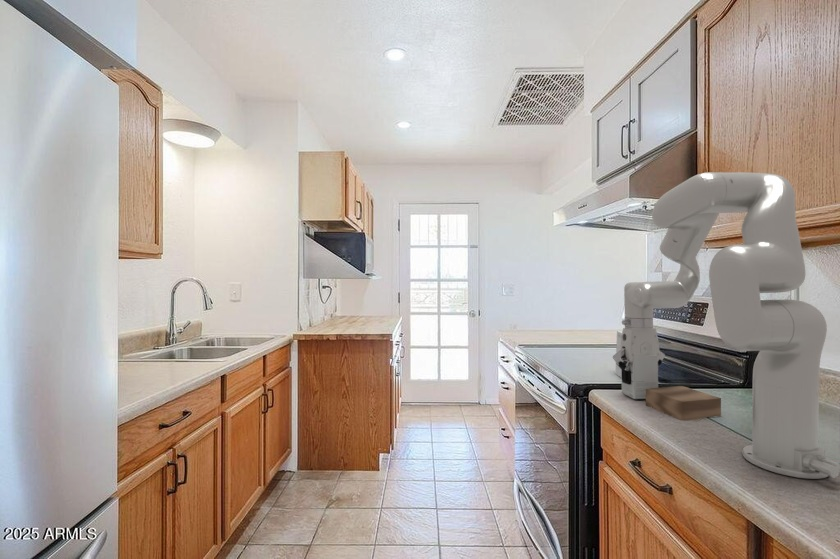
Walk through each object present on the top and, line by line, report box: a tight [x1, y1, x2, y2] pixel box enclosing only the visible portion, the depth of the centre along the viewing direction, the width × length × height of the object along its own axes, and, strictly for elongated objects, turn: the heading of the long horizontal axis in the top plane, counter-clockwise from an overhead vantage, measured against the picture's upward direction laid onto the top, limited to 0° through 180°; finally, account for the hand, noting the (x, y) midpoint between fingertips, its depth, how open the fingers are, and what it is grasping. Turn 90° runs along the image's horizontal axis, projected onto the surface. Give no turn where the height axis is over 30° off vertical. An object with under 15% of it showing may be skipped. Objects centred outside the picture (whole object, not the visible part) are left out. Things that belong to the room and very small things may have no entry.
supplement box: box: [621, 354, 659, 400], centre depth 123 cm, size 7×7×13 cm
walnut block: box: [645, 385, 722, 421], centre depth 110 cm, size 12×12×5 cm
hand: (639, 382), depth 123 cm, fingers closed on supplement box, 7 cm apart
